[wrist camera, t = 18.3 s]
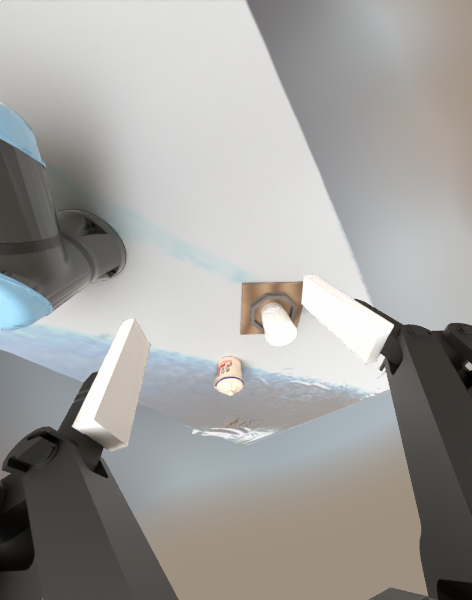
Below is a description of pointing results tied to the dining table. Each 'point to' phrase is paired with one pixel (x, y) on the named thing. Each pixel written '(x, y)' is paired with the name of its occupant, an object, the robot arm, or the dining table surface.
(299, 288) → the ring holder
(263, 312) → the white cup
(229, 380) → the teacup with lid
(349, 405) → the dining table surface
